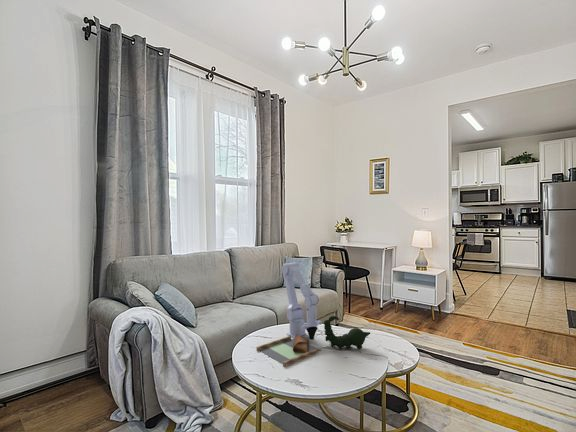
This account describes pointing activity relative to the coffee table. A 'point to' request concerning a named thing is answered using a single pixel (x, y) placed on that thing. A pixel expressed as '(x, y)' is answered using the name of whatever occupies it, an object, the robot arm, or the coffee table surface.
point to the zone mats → (284, 351)
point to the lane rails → (292, 358)
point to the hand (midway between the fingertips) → (311, 339)
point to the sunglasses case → (300, 344)
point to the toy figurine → (344, 336)
